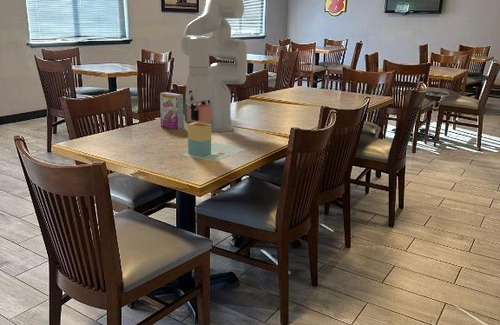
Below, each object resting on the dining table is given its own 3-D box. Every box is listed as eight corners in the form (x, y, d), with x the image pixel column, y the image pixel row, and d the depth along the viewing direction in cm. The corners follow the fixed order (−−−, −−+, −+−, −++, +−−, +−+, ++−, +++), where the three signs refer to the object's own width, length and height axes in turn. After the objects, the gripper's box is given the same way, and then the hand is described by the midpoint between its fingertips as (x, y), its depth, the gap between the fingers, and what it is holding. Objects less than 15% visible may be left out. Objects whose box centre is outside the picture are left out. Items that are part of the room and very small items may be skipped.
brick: (187, 120, 178) (187, 105, 176) (196, 118, 182) (195, 103, 180) (203, 123, 174) (203, 107, 172) (211, 120, 178) (211, 105, 176)
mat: (181, 155, 180) (181, 154, 180) (215, 143, 198) (215, 142, 198) (214, 163, 172) (214, 162, 172) (246, 149, 190) (246, 149, 190)
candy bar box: (160, 126, 225) (158, 93, 220) (167, 124, 229) (166, 91, 224) (177, 130, 219) (176, 95, 214) (184, 128, 223) (183, 94, 218)
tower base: (188, 153, 182) (187, 124, 178) (196, 150, 186) (195, 121, 182) (203, 157, 178) (203, 126, 174) (211, 154, 182) (211, 124, 178)
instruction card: (207, 155, 180) (207, 155, 180) (216, 152, 185) (216, 151, 185) (220, 158, 177) (220, 157, 177) (229, 154, 182) (229, 154, 182)
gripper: (205, 68, 181) (205, 114, 186) (176, 72, 167) (177, 121, 173) (220, 70, 177) (220, 116, 183) (192, 74, 163) (193, 124, 169)
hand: (199, 118), depth 177 cm, fingers closed on brick, 4 cm apart
